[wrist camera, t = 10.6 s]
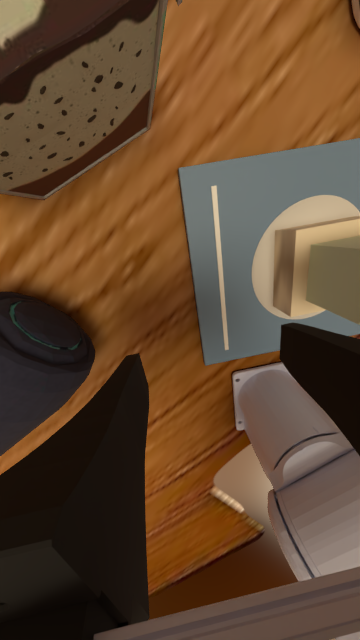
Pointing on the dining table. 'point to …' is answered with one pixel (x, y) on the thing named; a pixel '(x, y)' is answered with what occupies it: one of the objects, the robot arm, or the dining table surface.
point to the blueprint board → (265, 242)
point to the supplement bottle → (356, 11)
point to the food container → (73, 86)
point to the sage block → (336, 277)
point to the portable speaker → (37, 363)
